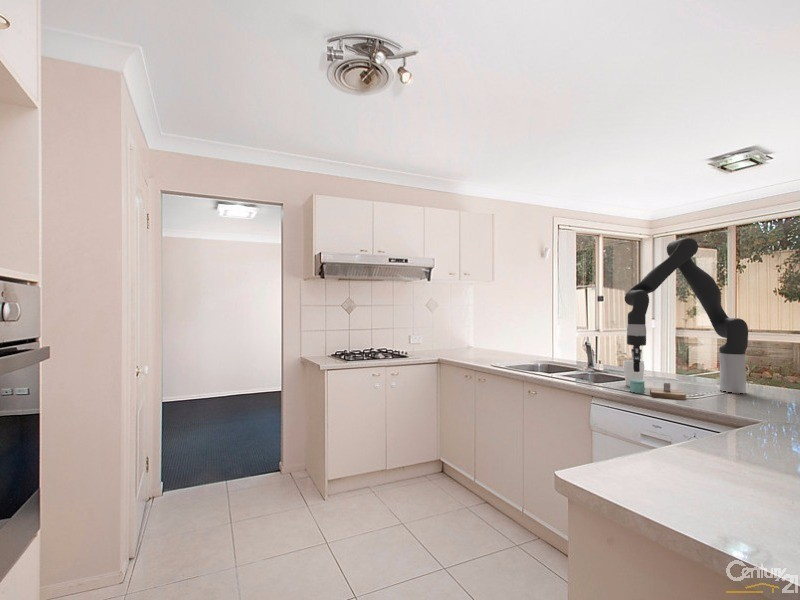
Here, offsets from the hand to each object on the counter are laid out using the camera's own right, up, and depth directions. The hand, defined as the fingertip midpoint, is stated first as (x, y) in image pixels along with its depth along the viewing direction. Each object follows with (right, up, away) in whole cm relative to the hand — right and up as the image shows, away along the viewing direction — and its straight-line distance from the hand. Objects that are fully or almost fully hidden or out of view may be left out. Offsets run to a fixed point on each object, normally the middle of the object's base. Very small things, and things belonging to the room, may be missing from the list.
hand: (636, 370), depth 186 cm
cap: (0, -10, 0) cm, 10 cm away
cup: (+7, -10, +15) cm, 20 cm away
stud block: (+8, -9, -9) cm, 15 cm away
